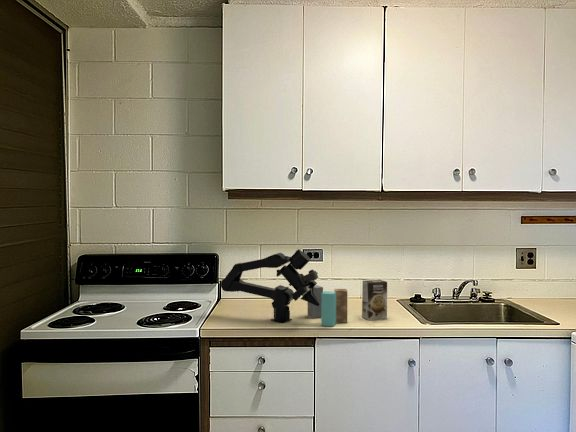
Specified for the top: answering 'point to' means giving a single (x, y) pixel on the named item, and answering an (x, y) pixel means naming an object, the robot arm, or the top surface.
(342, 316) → the walnut block
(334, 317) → the teal block
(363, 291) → the coffee box
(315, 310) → the charcoal block
